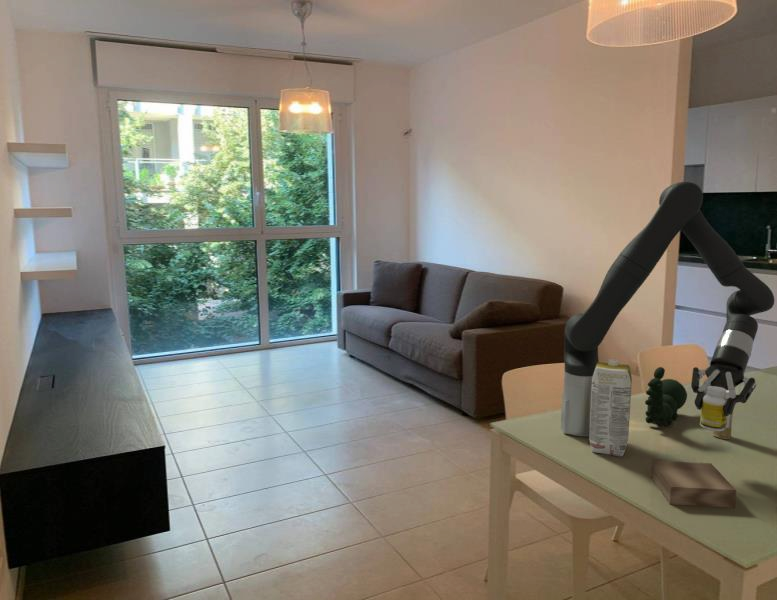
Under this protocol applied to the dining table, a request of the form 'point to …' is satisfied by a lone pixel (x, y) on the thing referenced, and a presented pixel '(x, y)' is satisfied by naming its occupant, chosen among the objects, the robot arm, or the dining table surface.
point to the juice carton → (610, 408)
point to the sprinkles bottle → (727, 432)
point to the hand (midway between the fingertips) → (711, 410)
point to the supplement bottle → (714, 409)
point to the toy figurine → (664, 399)
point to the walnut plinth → (693, 484)
